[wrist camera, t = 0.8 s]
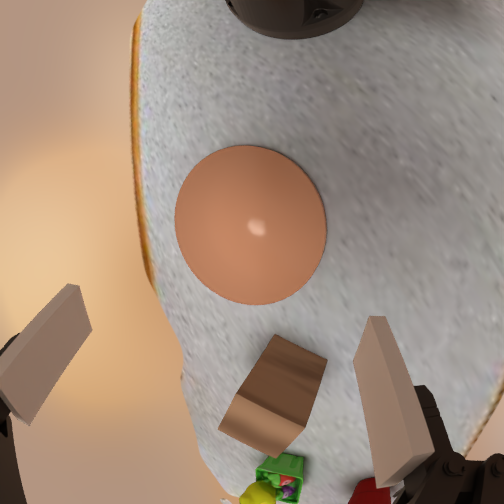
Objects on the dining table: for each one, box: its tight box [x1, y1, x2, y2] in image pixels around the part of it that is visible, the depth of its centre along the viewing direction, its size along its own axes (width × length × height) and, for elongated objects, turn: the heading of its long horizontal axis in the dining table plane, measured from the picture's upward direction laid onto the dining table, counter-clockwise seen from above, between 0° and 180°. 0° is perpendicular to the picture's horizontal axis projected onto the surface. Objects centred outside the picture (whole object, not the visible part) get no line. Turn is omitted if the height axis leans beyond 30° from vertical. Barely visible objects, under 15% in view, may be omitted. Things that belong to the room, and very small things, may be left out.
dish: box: [175, 146, 327, 305], centre depth 31 cm, size 17×17×1 cm
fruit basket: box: [239, 453, 303, 504], centre depth 36 cm, size 11×9×11 cm
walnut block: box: [218, 334, 327, 458], centre depth 30 cm, size 7×7×11 cm
